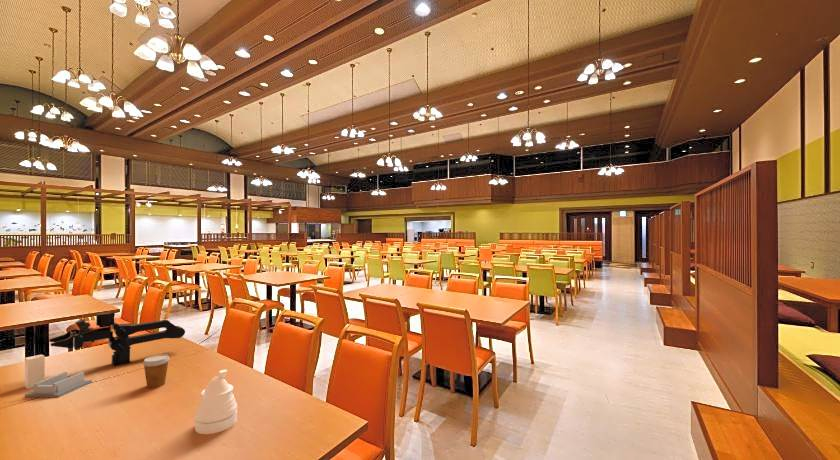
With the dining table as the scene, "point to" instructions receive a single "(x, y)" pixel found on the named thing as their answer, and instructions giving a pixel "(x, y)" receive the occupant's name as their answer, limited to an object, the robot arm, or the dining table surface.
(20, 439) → the dining table surface
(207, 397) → the honey pot
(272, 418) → the dining table surface
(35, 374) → the cream block
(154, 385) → the disposable coffee cup
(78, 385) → the slot rack
